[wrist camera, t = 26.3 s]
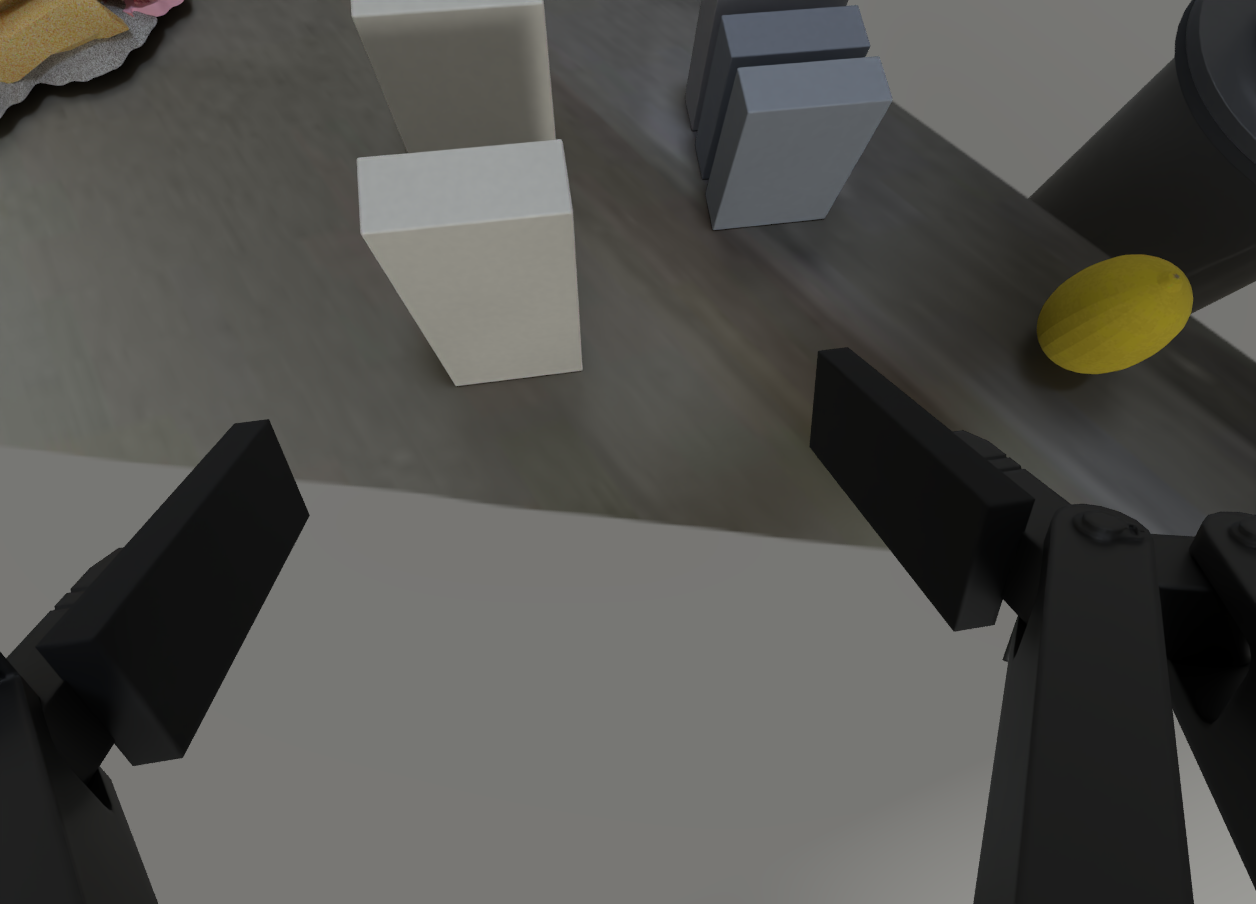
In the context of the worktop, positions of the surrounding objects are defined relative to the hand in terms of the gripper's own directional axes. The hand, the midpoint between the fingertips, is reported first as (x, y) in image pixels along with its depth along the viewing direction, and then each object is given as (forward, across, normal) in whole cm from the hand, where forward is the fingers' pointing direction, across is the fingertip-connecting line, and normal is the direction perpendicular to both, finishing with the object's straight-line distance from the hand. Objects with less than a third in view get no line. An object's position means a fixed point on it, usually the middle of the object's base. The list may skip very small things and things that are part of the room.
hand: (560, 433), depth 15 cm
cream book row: (+28, -2, +3) cm, 28 cm away
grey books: (+28, +13, +3) cm, 31 cm away
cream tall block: (+19, -2, -5) cm, 20 cm away
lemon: (+17, +28, -8) cm, 34 cm away
